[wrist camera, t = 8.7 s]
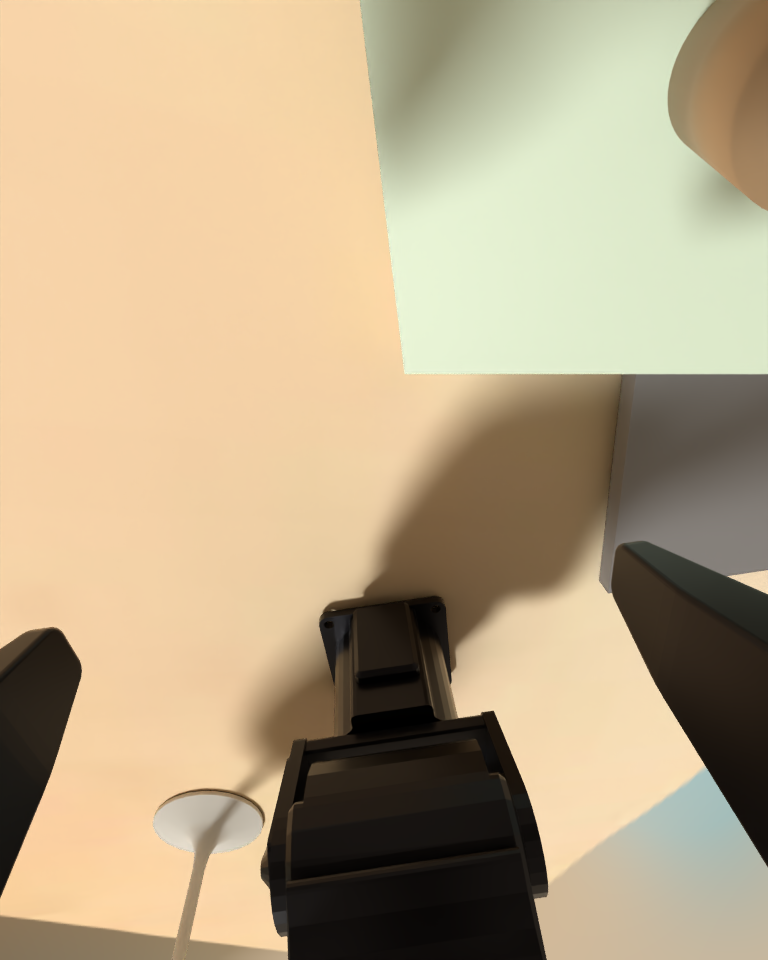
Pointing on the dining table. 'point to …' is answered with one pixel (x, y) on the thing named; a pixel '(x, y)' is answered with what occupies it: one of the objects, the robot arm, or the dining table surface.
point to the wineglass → (204, 839)
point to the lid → (574, 183)
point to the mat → (691, 470)
